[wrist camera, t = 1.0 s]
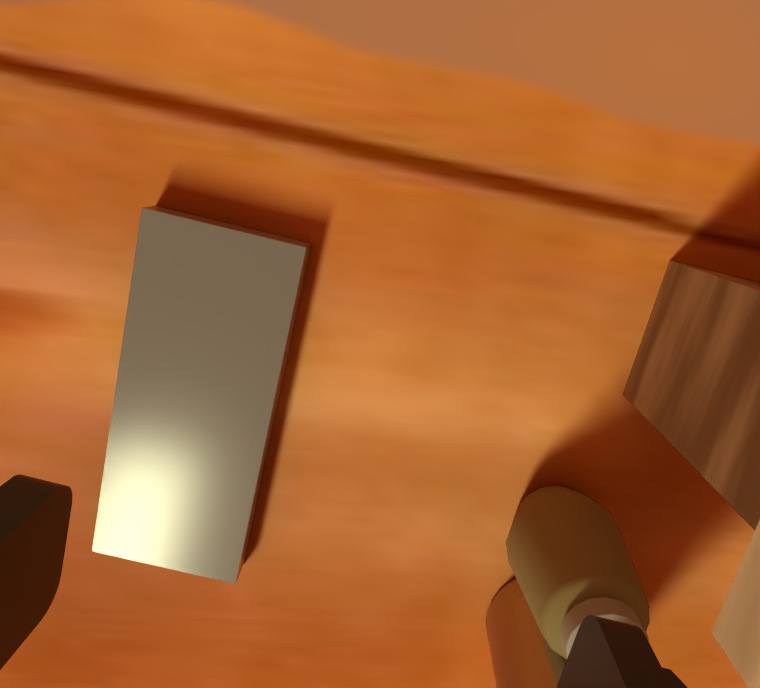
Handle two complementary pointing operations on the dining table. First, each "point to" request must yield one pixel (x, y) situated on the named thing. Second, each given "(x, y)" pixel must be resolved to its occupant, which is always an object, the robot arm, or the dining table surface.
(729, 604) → the bar
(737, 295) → the stand
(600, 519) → the squeeze bottle
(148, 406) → the board
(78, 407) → the dining table surface
